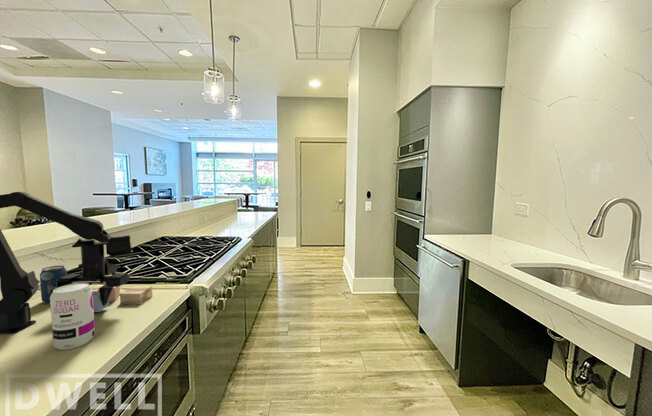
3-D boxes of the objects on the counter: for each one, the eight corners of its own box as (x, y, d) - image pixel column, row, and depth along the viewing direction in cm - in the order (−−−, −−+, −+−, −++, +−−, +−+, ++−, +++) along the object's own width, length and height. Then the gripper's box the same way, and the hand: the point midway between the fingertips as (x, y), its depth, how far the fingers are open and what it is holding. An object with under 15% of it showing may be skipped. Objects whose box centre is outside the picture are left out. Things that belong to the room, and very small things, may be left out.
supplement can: (91, 330, 80) (88, 280, 78) (98, 341, 74) (95, 287, 73) (51, 343, 73) (47, 288, 72) (56, 355, 68) (52, 296, 67)
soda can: (51, 305, 96) (49, 271, 95) (36, 303, 97) (33, 269, 96) (73, 297, 103) (71, 265, 102) (59, 295, 104) (56, 264, 103)
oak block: (140, 304, 98) (140, 293, 97) (120, 304, 98) (119, 293, 97) (152, 296, 105) (152, 286, 104) (133, 296, 105) (133, 286, 104)
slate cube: (98, 311, 89) (97, 296, 88) (81, 312, 88) (80, 297, 88) (109, 305, 94) (108, 290, 93) (93, 305, 93) (92, 291, 93)
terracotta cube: (115, 301, 100) (114, 287, 99) (98, 303, 98) (97, 289, 98) (120, 296, 104) (119, 283, 104) (103, 297, 103) (103, 284, 102)
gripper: (138, 252, 98) (140, 295, 100) (81, 253, 97) (84, 296, 98) (117, 261, 87) (120, 308, 89) (53, 262, 86) (56, 310, 87)
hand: (95, 305), depth 91 cm, fingers closed on slate cube, 5 cm apart
